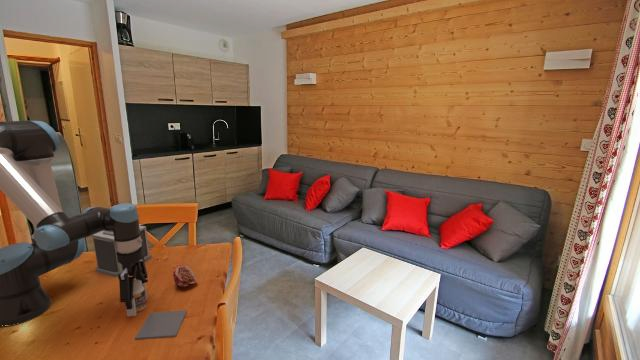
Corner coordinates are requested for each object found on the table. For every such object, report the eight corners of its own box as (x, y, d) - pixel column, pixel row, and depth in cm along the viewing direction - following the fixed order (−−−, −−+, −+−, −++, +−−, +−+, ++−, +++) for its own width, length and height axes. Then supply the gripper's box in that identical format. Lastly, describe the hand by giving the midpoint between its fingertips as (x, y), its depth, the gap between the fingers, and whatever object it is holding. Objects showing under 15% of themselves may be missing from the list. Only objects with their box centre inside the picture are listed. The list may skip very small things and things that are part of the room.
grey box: (131, 253, 148) (126, 217, 144) (153, 257, 144) (148, 221, 140) (94, 271, 131) (87, 232, 127) (117, 277, 127) (110, 237, 123)
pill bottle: (138, 314, 105) (134, 289, 103) (124, 311, 106) (120, 286, 104) (150, 304, 111) (147, 279, 108) (136, 302, 112) (133, 277, 110)
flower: (164, 289, 117) (175, 275, 115) (168, 273, 125) (179, 259, 123) (188, 297, 121) (199, 283, 120) (191, 280, 129) (201, 267, 128)
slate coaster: (135, 339, 94) (134, 338, 94) (150, 314, 106) (150, 312, 105) (175, 336, 96) (175, 334, 95) (186, 311, 107) (186, 310, 107)
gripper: (126, 263, 94) (135, 326, 99) (153, 235, 114) (159, 289, 119) (100, 265, 93) (110, 328, 98) (131, 236, 113) (139, 290, 118)
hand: (137, 307), depth 109 cm, fingers open, 8 cm apart
